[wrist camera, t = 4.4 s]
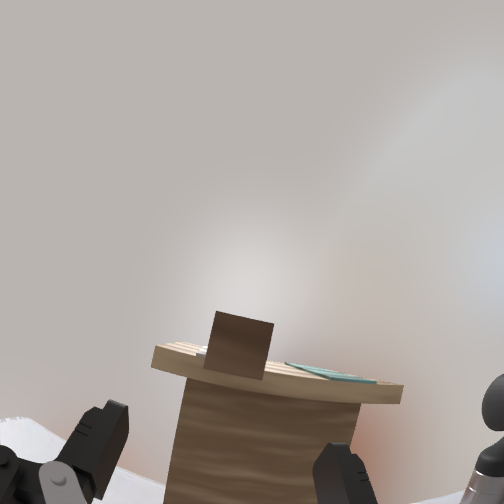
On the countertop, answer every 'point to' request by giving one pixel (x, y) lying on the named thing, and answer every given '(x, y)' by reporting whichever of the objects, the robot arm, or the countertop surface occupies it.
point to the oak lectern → (258, 428)
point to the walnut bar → (238, 346)
